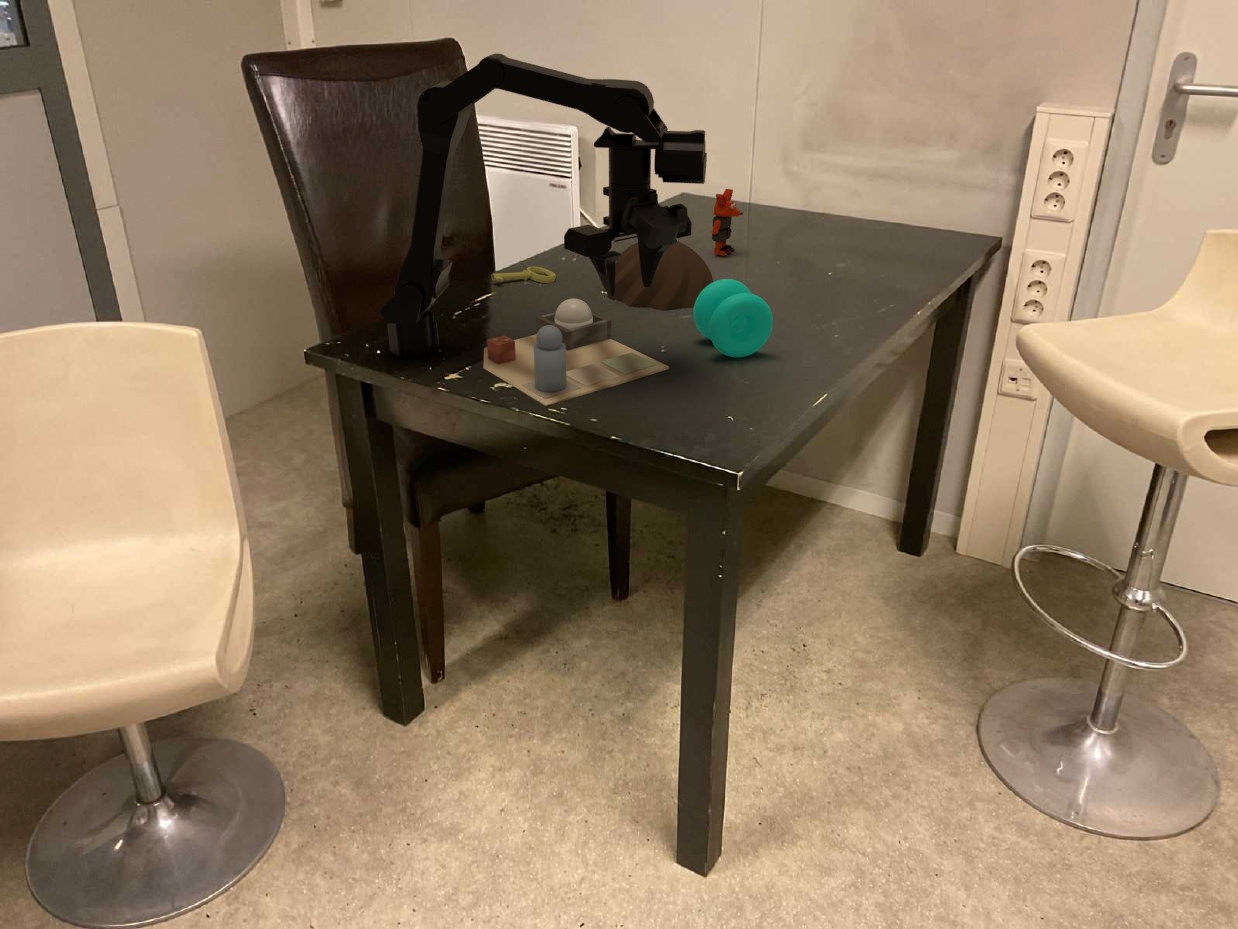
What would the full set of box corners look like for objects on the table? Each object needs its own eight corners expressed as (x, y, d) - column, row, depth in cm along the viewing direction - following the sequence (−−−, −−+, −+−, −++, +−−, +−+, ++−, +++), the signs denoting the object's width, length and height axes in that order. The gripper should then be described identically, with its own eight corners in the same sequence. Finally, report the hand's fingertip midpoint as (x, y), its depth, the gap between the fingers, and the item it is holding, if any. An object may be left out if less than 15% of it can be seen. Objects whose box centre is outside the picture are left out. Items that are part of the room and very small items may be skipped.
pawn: (546, 395, 139) (543, 333, 135) (529, 384, 142) (526, 324, 138) (572, 387, 141) (571, 327, 137) (555, 377, 144) (553, 318, 140)
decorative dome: (699, 315, 169) (702, 257, 165) (589, 303, 175) (588, 246, 170) (725, 281, 186) (728, 228, 181) (623, 271, 191) (623, 219, 186)
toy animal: (732, 259, 197) (736, 198, 191) (707, 256, 199) (709, 195, 193) (747, 249, 203) (751, 189, 197) (722, 246, 205) (725, 186, 200)
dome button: (569, 344, 155) (568, 308, 152) (547, 333, 159) (546, 298, 156) (600, 336, 158) (600, 300, 155) (578, 325, 162) (577, 290, 160)
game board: (545, 407, 136) (544, 383, 135) (460, 356, 152) (458, 335, 151) (669, 368, 148) (670, 346, 147) (579, 325, 164) (578, 304, 163)
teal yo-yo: (712, 363, 150) (715, 299, 146) (689, 340, 159) (691, 279, 154) (773, 356, 153) (778, 293, 148) (747, 334, 161) (751, 273, 156)
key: (488, 285, 182) (488, 274, 181) (538, 270, 190) (537, 259, 189) (515, 294, 178) (515, 282, 177) (564, 279, 186) (564, 267, 185)
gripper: (611, 202, 126) (611, 320, 133) (720, 182, 136) (715, 293, 143) (560, 186, 134) (563, 298, 141) (667, 168, 144) (664, 274, 151)
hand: (628, 291), depth 144 cm, fingers open, 6 cm apart
